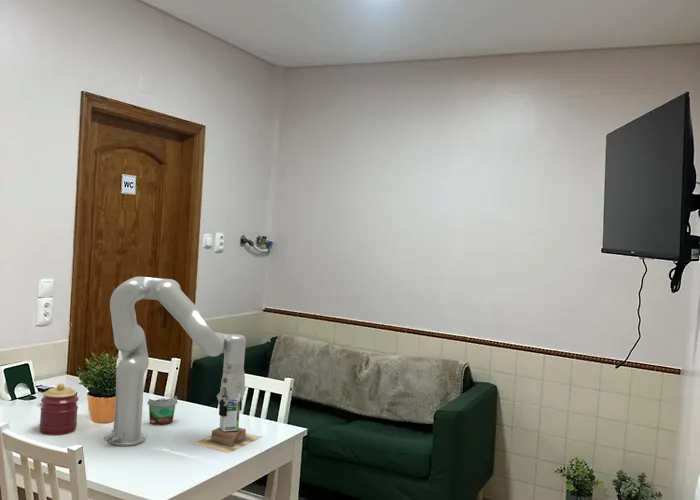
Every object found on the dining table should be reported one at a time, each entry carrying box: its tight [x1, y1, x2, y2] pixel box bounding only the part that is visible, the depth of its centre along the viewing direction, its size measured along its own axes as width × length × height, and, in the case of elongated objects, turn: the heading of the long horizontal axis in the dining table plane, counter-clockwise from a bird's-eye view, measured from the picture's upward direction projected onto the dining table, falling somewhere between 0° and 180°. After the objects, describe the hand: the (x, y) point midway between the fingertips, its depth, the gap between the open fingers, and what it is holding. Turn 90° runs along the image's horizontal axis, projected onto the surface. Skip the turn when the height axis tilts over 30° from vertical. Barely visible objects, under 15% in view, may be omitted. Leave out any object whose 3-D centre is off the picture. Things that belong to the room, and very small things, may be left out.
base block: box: [211, 426, 247, 446], centre depth 242 cm, size 9×9×4 cm
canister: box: [38, 383, 79, 436], centre depth 242 cm, size 13×13×18 cm
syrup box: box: [219, 392, 241, 432], centre depth 242 cm, size 6×6×14 cm
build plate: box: [192, 433, 262, 454], centre depth 242 cm, size 22×16×2 cm
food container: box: [147, 395, 178, 426], centre depth 260 cm, size 12×6×10 cm, turn 131°
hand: (230, 412), depth 242 cm, fingers open, 9 cm apart
